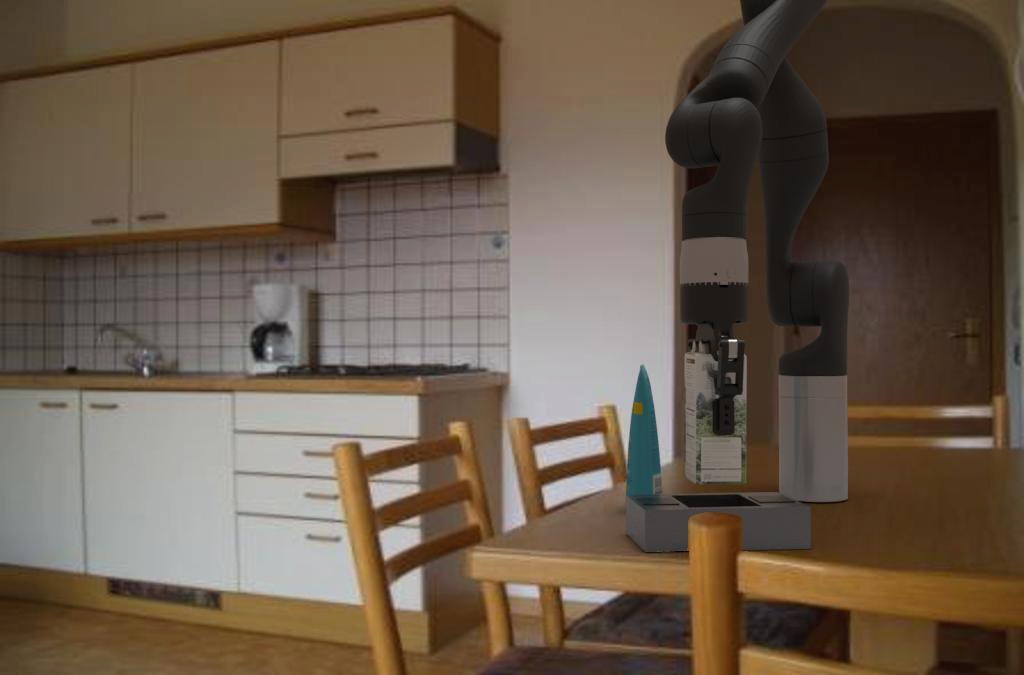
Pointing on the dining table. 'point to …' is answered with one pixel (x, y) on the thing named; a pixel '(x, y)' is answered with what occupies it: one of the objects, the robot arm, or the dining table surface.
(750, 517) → the grey open box
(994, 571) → the dining table surface
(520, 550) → the dining table surface
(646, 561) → the dining table surface
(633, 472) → the tube
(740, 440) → the syrup box
